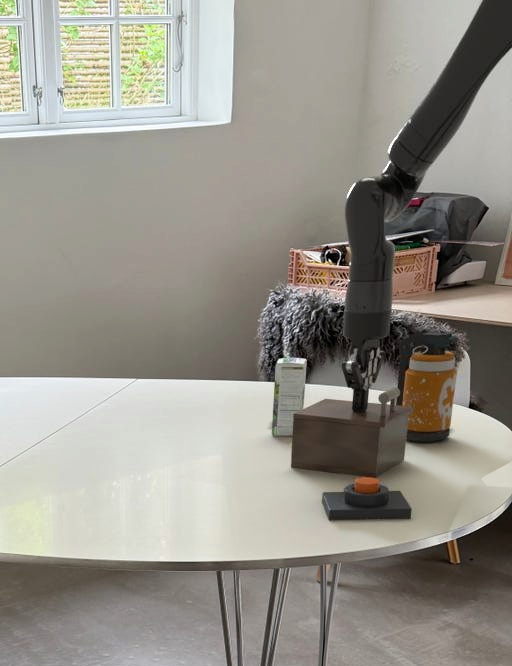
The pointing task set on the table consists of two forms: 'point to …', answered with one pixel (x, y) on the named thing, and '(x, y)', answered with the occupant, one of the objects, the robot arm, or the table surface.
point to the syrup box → (288, 394)
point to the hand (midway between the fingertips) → (359, 410)
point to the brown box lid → (372, 416)
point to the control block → (365, 504)
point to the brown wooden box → (348, 447)
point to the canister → (427, 384)
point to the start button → (366, 485)
